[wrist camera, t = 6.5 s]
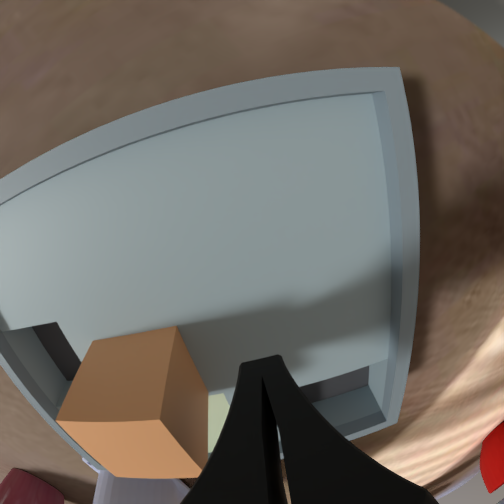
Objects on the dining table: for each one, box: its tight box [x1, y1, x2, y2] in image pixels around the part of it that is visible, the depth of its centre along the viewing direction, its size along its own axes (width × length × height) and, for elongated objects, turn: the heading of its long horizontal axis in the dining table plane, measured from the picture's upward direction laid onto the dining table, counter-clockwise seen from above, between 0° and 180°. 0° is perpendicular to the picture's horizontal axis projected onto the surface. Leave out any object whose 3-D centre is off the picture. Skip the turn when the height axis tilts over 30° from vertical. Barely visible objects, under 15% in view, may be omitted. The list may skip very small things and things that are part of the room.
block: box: [55, 326, 209, 479], centre depth 10 cm, size 4×4×4 cm
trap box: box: [0, 67, 420, 471], centre depth 12 cm, size 18×20×3 cm
